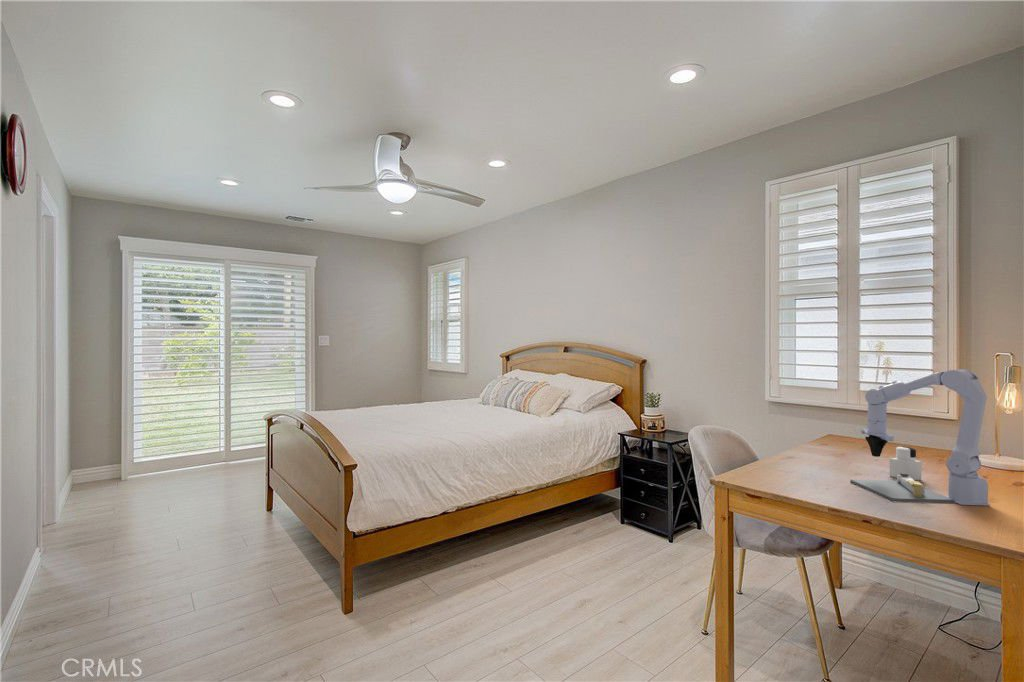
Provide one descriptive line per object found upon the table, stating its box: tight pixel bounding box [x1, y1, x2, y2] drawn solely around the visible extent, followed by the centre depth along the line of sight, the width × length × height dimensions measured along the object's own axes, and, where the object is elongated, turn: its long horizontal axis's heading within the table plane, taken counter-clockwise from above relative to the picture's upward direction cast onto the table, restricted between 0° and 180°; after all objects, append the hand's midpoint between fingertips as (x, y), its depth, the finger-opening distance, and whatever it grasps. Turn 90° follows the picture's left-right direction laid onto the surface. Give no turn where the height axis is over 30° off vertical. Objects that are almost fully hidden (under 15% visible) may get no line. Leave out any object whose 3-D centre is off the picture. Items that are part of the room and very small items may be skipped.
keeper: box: [907, 480, 925, 498], centre depth 166 cm, size 6×3×4 cm, turn 154°
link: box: [896, 475, 926, 494], centre depth 173 cm, size 16×4×2 cm, turn 158°
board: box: [849, 473, 955, 504], centre depth 171 cm, size 20×21×5 cm
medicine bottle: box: [889, 445, 923, 481], centre depth 189 cm, size 7×7×12 cm
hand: (876, 456), depth 184 cm, fingers closed
